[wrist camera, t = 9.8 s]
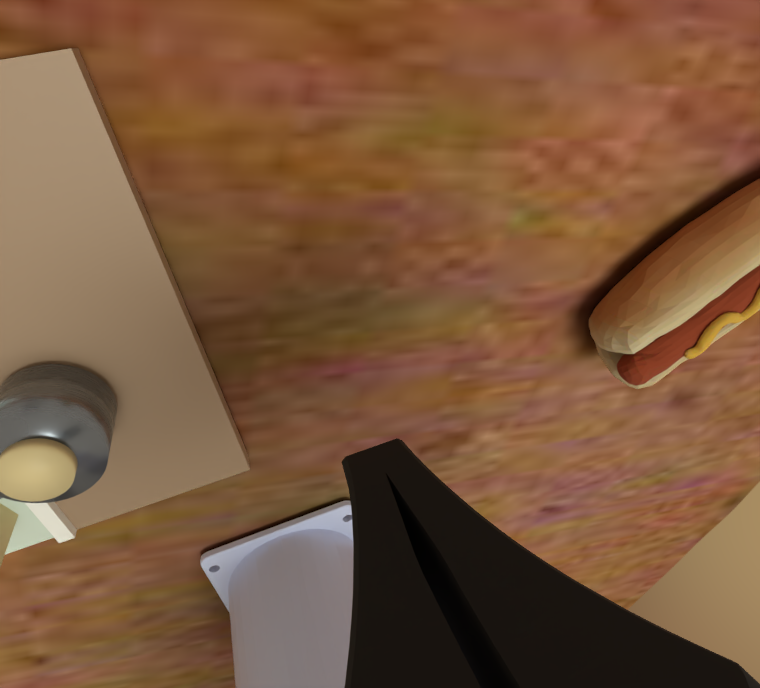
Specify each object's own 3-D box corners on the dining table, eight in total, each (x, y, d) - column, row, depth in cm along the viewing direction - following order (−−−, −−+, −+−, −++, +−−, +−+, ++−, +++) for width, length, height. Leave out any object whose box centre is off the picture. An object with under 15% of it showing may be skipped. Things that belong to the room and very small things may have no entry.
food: (793, 122, 23) (921, 139, 19) (794, 213, 26) (904, 244, 22) (555, 301, 24) (629, 353, 20) (584, 368, 27) (654, 424, 23)
